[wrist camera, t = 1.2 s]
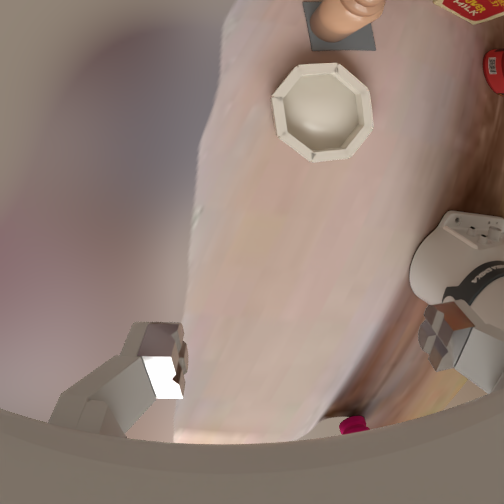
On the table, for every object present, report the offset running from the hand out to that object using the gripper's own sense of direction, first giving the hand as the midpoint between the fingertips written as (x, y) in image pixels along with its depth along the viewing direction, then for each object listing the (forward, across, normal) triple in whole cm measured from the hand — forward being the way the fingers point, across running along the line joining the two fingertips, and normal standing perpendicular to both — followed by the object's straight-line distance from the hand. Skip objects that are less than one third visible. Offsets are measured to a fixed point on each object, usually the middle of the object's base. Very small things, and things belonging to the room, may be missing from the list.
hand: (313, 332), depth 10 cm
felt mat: (+32, -11, -18) cm, 38 cm away
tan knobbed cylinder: (+31, -9, -18) cm, 37 cm away
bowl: (+32, -8, -6) cm, 33 cm away
